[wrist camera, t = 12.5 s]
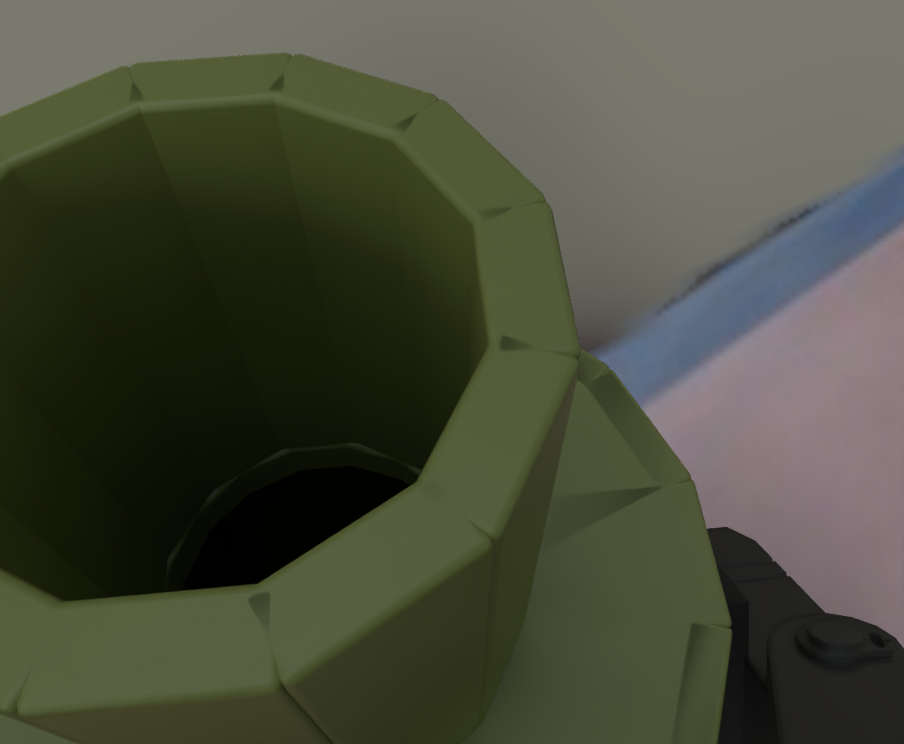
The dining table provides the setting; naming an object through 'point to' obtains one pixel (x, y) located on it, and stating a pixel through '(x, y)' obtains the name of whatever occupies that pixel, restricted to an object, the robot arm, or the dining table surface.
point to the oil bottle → (320, 435)
